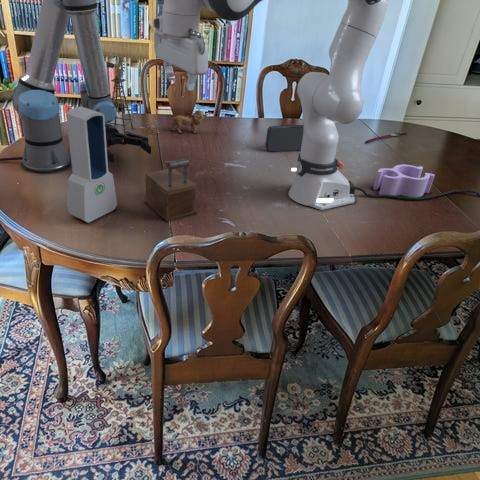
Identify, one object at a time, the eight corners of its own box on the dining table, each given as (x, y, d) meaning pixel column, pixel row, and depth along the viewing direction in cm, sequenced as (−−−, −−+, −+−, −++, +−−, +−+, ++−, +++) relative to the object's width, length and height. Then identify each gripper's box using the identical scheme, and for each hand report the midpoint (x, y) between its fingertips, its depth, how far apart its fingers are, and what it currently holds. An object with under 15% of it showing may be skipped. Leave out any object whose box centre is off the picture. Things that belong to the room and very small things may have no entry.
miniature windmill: (125, 135, 188) (121, 57, 171) (105, 132, 189) (100, 54, 172) (134, 128, 195) (131, 52, 179) (115, 125, 196) (110, 49, 180)
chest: (194, 213, 141) (195, 187, 136) (166, 221, 135) (166, 194, 131) (173, 195, 149) (173, 171, 144) (146, 202, 144) (145, 177, 139)
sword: (403, 131, 224) (404, 129, 223) (408, 133, 222) (409, 131, 221) (360, 143, 208) (360, 140, 207) (365, 145, 206) (366, 142, 205)
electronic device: (85, 224, 129) (74, 119, 113) (67, 215, 132) (53, 112, 116) (118, 208, 139) (112, 108, 122) (99, 200, 142) (92, 102, 125)
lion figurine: (200, 128, 202) (201, 108, 197) (204, 133, 198) (205, 112, 193) (167, 129, 197) (167, 108, 192) (170, 134, 193) (170, 113, 188)
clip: (386, 199, 160) (391, 181, 156) (367, 183, 170) (371, 166, 166) (433, 195, 166) (439, 178, 163) (412, 180, 176) (417, 163, 172)
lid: (196, 188, 136) (197, 160, 131) (167, 195, 130) (167, 167, 126) (173, 171, 144) (173, 144, 139) (145, 176, 139) (145, 149, 134)
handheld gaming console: (315, 147, 196) (319, 124, 190) (317, 149, 194) (322, 126, 188) (264, 149, 189) (267, 125, 183) (266, 152, 187) (269, 127, 181)
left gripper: (137, 137, 177) (165, 157, 164) (72, 149, 164) (96, 172, 150) (136, 117, 173) (164, 136, 159) (69, 128, 160) (94, 150, 146)
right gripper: (216, 34, 106) (212, 94, 114) (171, 18, 120) (170, 73, 127) (192, 34, 103) (190, 97, 110) (149, 18, 116) (149, 75, 124)
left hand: (131, 154), depth 155 cm, fingers open, 13 cm apart
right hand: (179, 84), depth 119 cm, fingers open, 8 cm apart
